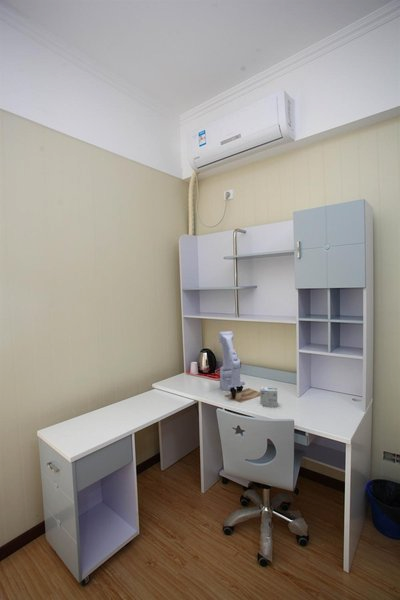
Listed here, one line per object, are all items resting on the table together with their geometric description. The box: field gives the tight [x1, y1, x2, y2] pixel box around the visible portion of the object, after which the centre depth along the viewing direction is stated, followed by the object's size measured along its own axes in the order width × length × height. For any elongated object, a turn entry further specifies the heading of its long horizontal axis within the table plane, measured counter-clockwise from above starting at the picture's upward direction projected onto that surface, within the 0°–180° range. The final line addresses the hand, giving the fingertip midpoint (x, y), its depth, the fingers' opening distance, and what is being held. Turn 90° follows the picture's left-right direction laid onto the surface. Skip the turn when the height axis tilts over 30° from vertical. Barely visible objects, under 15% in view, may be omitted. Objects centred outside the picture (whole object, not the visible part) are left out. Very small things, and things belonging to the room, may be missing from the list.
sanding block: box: [230, 390, 242, 400], centre depth 207 cm, size 7×4×4 cm, turn 37°
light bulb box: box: [259, 386, 278, 408], centre depth 197 cm, size 11×7×11 cm, turn 74°
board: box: [224, 387, 260, 404], centre depth 212 cm, size 16×24×1 cm, turn 127°
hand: (236, 397), depth 207 cm, fingers closed on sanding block, 4 cm apart
